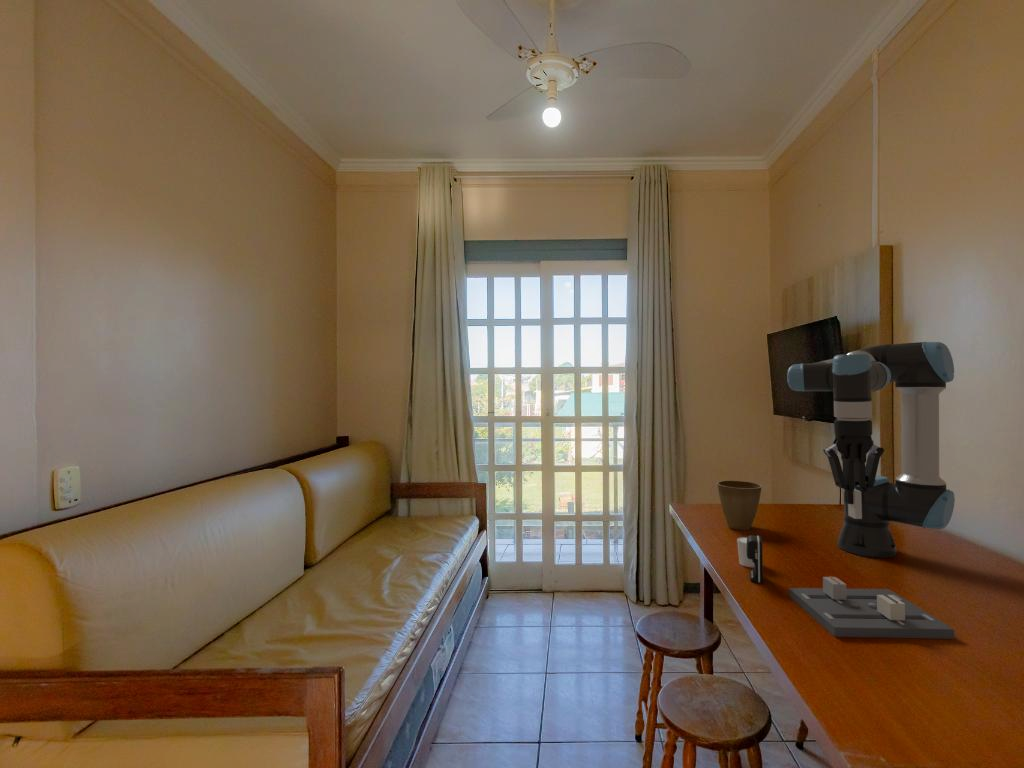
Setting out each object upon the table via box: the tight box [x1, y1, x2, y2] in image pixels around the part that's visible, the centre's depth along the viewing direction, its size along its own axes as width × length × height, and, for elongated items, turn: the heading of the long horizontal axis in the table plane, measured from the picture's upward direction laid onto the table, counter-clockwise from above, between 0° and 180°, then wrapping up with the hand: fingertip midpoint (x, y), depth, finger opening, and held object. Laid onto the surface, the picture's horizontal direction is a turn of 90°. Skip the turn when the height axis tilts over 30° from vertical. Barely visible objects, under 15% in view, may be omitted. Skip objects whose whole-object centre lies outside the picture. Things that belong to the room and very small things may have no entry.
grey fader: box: [822, 575, 847, 600], centre depth 120 cm, size 3×4×4 cm
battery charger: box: [746, 534, 764, 584], centre depth 137 cm, size 7×4×11 cm, turn 156°
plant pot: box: [717, 480, 763, 531], centre depth 184 cm, size 15×15×16 cm
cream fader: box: [877, 594, 905, 620], centre depth 110 cm, size 3×4×4 cm
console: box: [788, 587, 955, 640], centre depth 115 cm, size 24×20×3 cm
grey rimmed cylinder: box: [736, 536, 755, 568], centre depth 148 cm, size 7×7×7 cm
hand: (855, 517), depth 119 cm, fingers closed
